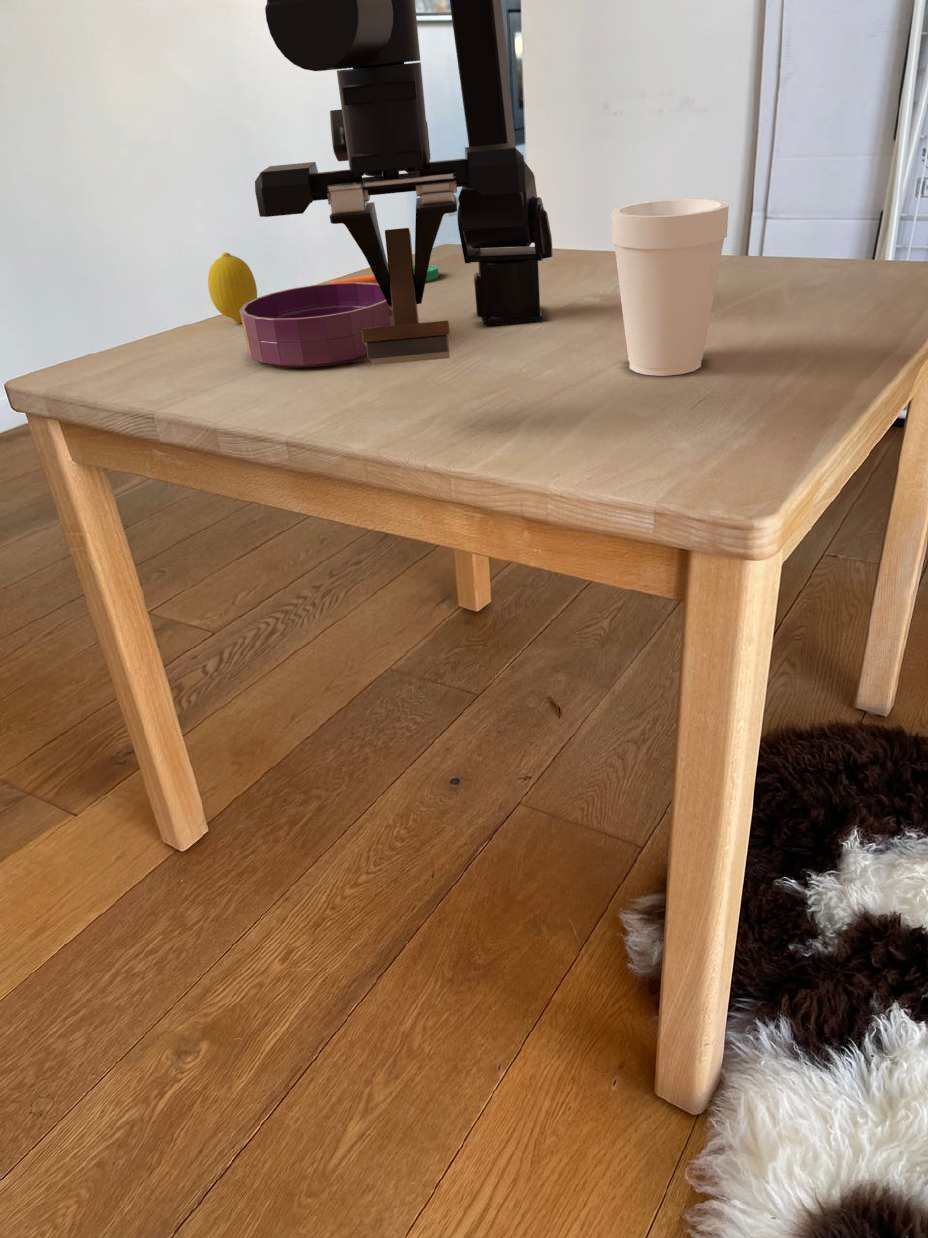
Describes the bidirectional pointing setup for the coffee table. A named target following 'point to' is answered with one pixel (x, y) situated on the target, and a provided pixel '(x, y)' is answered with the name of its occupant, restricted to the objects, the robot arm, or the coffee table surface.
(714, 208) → the foam cup
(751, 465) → the coffee table surface
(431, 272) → the magnifying glass
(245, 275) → the lemon
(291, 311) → the bowl
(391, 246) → the brush
